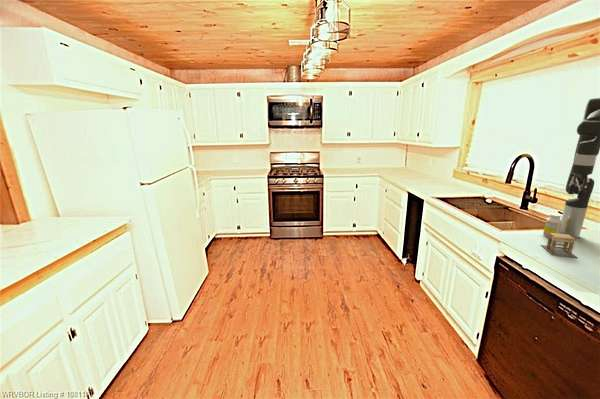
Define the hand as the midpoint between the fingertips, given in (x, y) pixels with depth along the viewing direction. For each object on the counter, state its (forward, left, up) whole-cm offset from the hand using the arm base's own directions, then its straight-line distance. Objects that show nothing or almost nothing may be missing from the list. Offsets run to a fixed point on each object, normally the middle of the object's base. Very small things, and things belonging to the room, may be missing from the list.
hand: (575, 196), depth 144 cm
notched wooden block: (+8, -5, -27) cm, 28 cm away
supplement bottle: (-16, +1, -27) cm, 32 cm away
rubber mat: (+8, -5, -27) cm, 29 cm away
